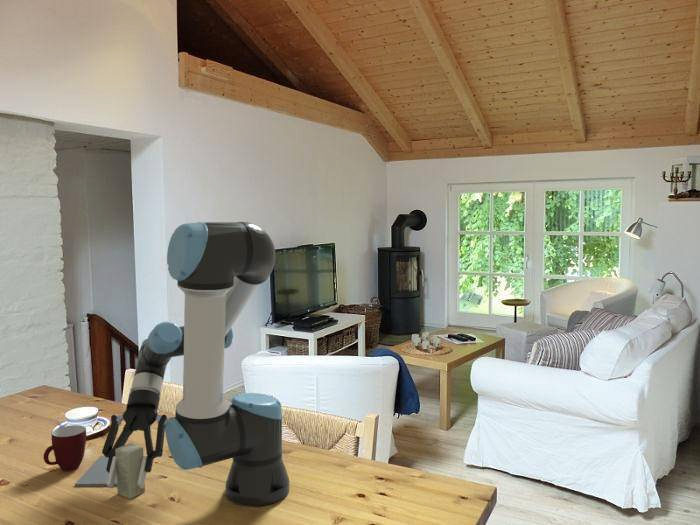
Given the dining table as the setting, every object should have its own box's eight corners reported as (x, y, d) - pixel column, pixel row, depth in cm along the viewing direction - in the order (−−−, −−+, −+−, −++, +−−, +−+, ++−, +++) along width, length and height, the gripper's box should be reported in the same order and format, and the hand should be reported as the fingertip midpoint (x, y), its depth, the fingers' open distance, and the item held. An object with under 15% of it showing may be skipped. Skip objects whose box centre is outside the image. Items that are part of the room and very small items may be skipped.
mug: (57, 482, 143) (55, 442, 142) (36, 474, 147) (35, 436, 146) (94, 465, 153) (92, 428, 152) (73, 459, 156) (72, 423, 155)
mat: (141, 457, 158) (141, 455, 157) (121, 485, 142) (120, 483, 142) (100, 458, 157) (100, 455, 157) (75, 486, 141) (74, 484, 141)
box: (145, 492, 139) (144, 447, 138) (130, 499, 135) (129, 453, 134) (131, 486, 142) (130, 442, 140) (116, 493, 138) (114, 448, 137)
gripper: (185, 401, 152) (170, 491, 138) (111, 401, 152) (87, 492, 137) (180, 387, 147) (164, 480, 132) (102, 388, 146) (77, 481, 131)
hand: (125, 486), depth 134 cm, fingers closed on box, 6 cm apart
